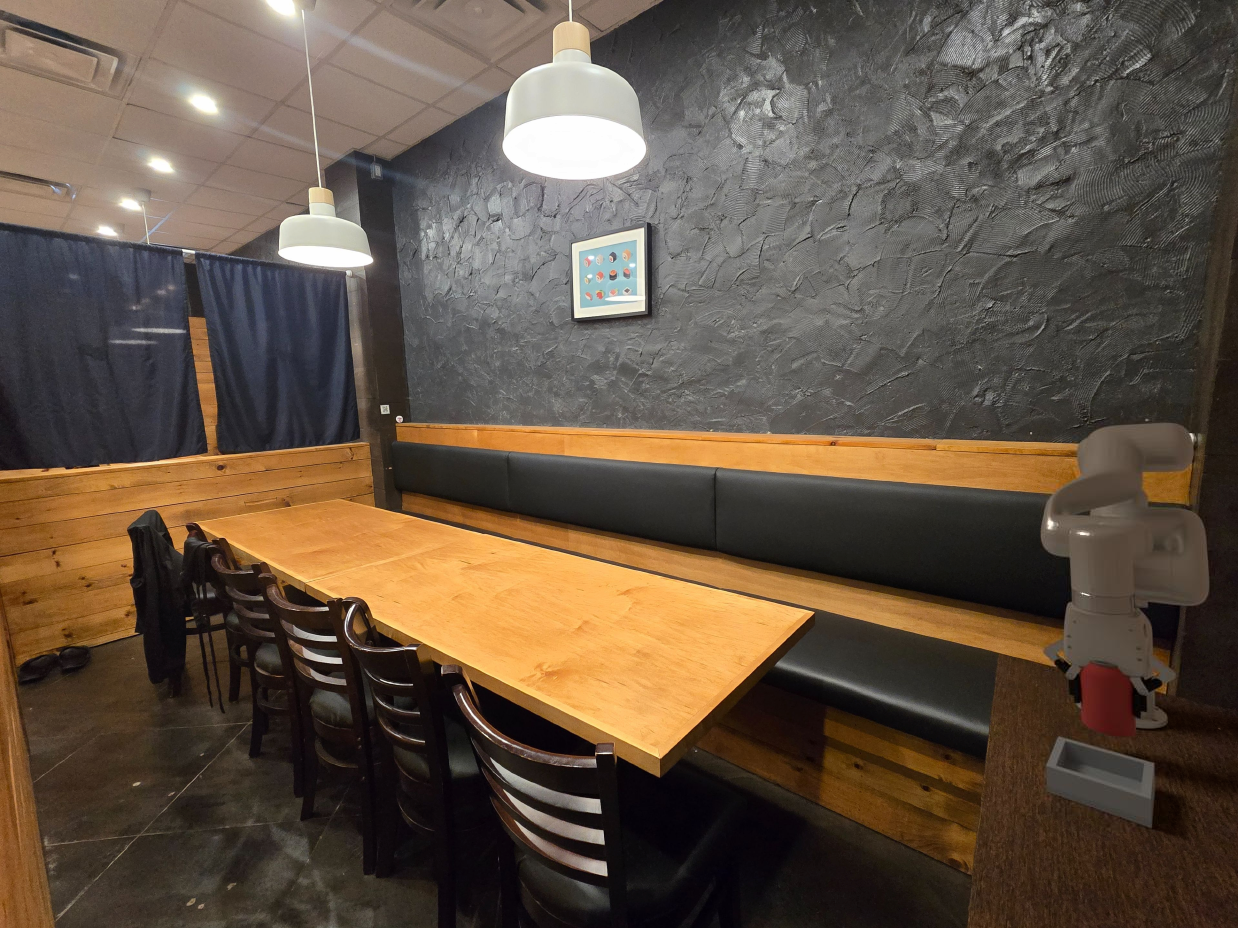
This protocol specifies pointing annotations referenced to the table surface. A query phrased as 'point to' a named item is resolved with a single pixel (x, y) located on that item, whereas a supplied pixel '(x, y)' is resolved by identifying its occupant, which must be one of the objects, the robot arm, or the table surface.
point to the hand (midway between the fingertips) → (1107, 706)
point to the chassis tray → (1102, 780)
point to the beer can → (1107, 700)
